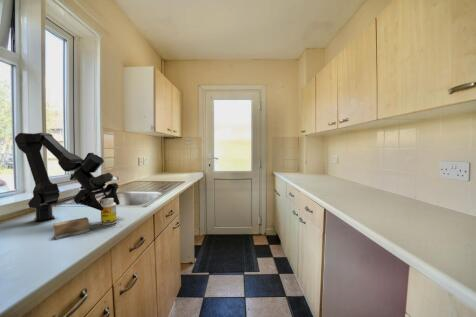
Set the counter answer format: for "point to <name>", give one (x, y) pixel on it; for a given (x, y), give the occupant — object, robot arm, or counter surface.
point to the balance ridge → (71, 227)
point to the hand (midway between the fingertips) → (111, 207)
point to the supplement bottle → (108, 211)
